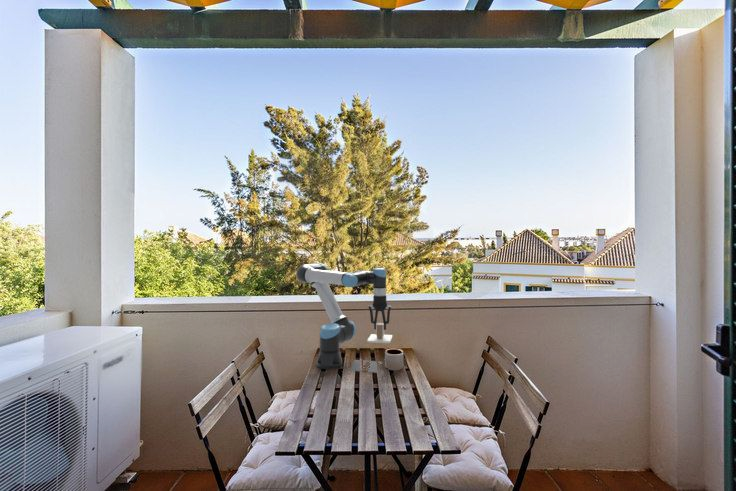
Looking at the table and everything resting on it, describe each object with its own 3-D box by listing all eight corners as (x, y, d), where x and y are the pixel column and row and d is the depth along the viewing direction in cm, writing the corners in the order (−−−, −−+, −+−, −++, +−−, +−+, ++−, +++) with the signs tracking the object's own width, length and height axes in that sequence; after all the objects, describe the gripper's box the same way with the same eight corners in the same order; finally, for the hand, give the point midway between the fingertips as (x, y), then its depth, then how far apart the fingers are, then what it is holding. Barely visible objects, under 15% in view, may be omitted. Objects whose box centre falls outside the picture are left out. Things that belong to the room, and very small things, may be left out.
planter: (407, 368, 216) (407, 352, 215) (392, 372, 210) (392, 356, 209) (395, 362, 225) (395, 347, 224) (381, 366, 219) (381, 350, 218)
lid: (367, 342, 210) (366, 326, 210) (371, 335, 223) (370, 320, 223) (389, 343, 208) (389, 327, 208) (392, 336, 221) (392, 321, 220)
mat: (349, 371, 210) (349, 370, 210) (354, 360, 227) (354, 359, 227) (379, 373, 208) (379, 372, 208) (382, 362, 225) (382, 361, 225)
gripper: (364, 295, 212) (365, 336, 213) (392, 296, 209) (393, 337, 210) (367, 293, 220) (367, 332, 221) (394, 294, 217) (394, 333, 218)
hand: (380, 335), depth 215 cm, fingers closed on lid, 3 cm apart
